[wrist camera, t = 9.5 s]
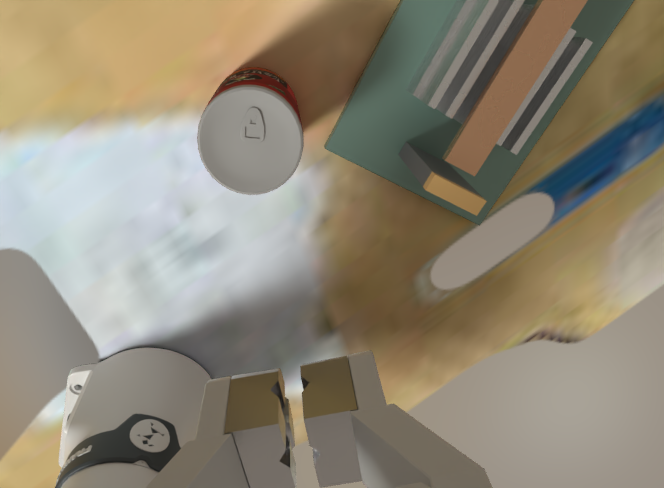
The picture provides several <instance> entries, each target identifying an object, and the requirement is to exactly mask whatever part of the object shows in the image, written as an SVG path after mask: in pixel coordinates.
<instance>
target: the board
mask: <svg viewBox="0 0 664 488" xmlns="http://www.w3.org/2000/svg"><path fill="white" fill-rule="evenodd" d="M537 1H538V0H525V1H524V2H523V4H532V5H535V4H536V3H537ZM633 1H634V0H588V1H587V2H586V4H585V5H584V7H583V8H582V10H581V12H580V13H579V15H578V16H577V18H576V19H575V21H574V22H573V24H572V26H571V27H570V28H572V29H573V30H575V31H576V33H575V35H574V36H575V37H582V38H587V39H588V40H590V41H591V42H593V43H592V45H591V46H590V47H589V49H588V50H587V52H586V53H585V55H584V56H583V58H582V59H581V61H580V62H579V64H578V65H577V67H576V68H575V70H574V71H573V73H572V74H571V75H570V77H569V78H568V80H567V81H566V83H565V84H564V86H563V87H562V89H561V90H560V92H559V93H558V95H557V96H556V98H555V99H554V101H553V102H552V103H551V105H550V106H549V108H548V109H547V111H546V112H545V114H544V115H543V117H542V118H541V120H540V121H539V123H538V124H537V126H536V127H535V129H534V130H533V131H532V133H531V134H530V136H529V137H528V139H527V140H526V142H525V143H524V145H523V146H522V148H521V149H520V151H519V152H518V154H517V155H516V154H514V153H512V152H510V151H509V150H507V149H506V148H504V147H503V146H500V145H498V144H495V146H494V147H493V149H492V151H491V152H490V154H489V155H488V157H487V158H486V160H485V161H484V163H483V165H482V166H481V168H480V169H479V171H478V172H477V174H476V176H473V175H471V174H469V173H467V172H465V171H464V170H462V169H460V168H458V167H456V166H454V165H452V164H450V163H448V162H447V161H445V160H444V159H442V157H443V155H444V154H445V152H446V151H447V149H448V147H449V146H450V144H451V142H452V141H453V139H454V137H455V136H456V134H457V132H458V131H459V129H460V128H461V126H462V124H461V123H459V122H458V121H456V120H455V119H454V118H452V119H451V118H450V117H448V116H446V115H444V114H443V113H442V112H440V111H439V110H437V109H436V108H435V109H433V108H432V107H430V106H428V105H427V104H425V103H424V102H423V101H421V100H420V99H418V98H417V97H415V96H414V95H412V94H411V93H409V92H408V91H407V90H406V89H407V87H408V85H409V83H410V82H411V80H412V78H413V76H414V75H415V73H416V71H417V69H418V67H419V66H420V64H421V62H422V60H423V59H424V57H425V55H426V53H427V51H428V50H429V48H430V46H431V44H432V43H433V41H434V39H435V37H436V36H437V34H438V32H439V30H440V28H441V27H442V25H443V23H444V21H445V20H446V18H447V16H448V14H449V13H450V11H451V9H452V7H453V5H454V4H455V2H456V0H401V1H400V3H399V5H398V7H397V8H396V10H395V12H394V14H393V16H392V18H391V20H390V22H389V24H388V26H387V27H386V29H385V31H384V33H383V35H382V37H381V39H380V41H379V43H378V45H377V46H376V48H375V50H374V52H373V54H372V56H371V58H370V60H369V62H368V64H367V65H366V67H365V69H364V71H363V73H362V75H361V77H360V79H359V81H358V83H357V84H356V86H355V88H354V90H353V92H352V94H351V96H350V98H349V100H348V102H347V103H346V105H345V107H344V109H343V111H342V113H341V115H340V117H339V119H338V121H337V122H336V124H335V126H334V128H333V130H332V132H331V134H330V136H329V138H328V140H327V142H326V143H325V145H324V147H325V149H327V150H329V151H331V152H333V153H335V154H337V155H339V156H341V157H343V158H345V159H347V160H349V161H351V162H353V163H355V164H357V165H359V166H361V167H363V168H365V169H367V170H369V171H371V172H373V173H375V174H377V175H379V176H381V177H383V178H385V179H387V180H389V181H391V182H393V183H395V184H397V185H399V186H401V187H403V188H405V189H407V190H409V191H411V192H413V193H415V194H417V195H419V196H421V197H423V198H425V199H427V200H429V201H431V202H434V203H436V204H438V205H440V206H442V207H444V208H446V209H448V210H450V211H452V212H454V213H456V214H458V215H460V216H462V217H464V218H466V219H468V220H470V221H472V222H474V223H476V224H478V225H480V224H481V222H482V221H483V220H484V218H485V217H486V215H487V214H488V212H489V211H490V209H491V208H492V206H493V205H494V204H495V202H496V201H497V199H498V198H499V196H500V195H501V193H502V192H503V190H504V189H505V188H506V186H507V185H508V183H509V182H510V180H511V179H512V177H513V176H514V174H515V173H516V172H517V170H518V169H519V167H520V166H521V164H522V163H523V161H524V160H525V158H526V157H527V156H528V154H529V153H530V151H531V150H532V148H533V147H534V145H535V144H536V142H537V141H538V140H539V138H540V137H541V135H542V134H543V132H544V131H545V129H546V128H547V126H548V125H549V124H550V122H551V121H552V119H553V118H554V116H555V115H556V113H557V112H558V110H559V109H560V108H561V106H562V105H563V103H564V102H565V100H566V99H567V97H568V96H569V94H570V93H571V91H572V90H573V89H574V87H575V86H576V84H577V83H578V81H579V80H580V78H581V77H582V75H583V74H584V73H585V71H586V70H587V68H588V67H589V65H590V64H591V62H592V61H593V59H594V58H595V57H596V55H597V54H598V52H599V51H600V49H601V48H602V46H603V45H604V43H605V42H606V41H607V39H608V38H609V36H610V35H611V33H612V32H613V30H614V29H615V27H616V26H617V25H618V23H619V22H620V20H621V19H622V17H623V16H624V14H625V13H626V11H627V10H628V9H629V7H630V6H631V4H632V3H633Z"/></svg>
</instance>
